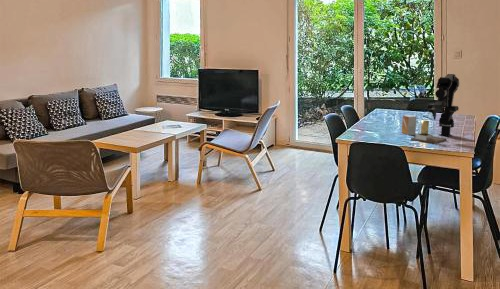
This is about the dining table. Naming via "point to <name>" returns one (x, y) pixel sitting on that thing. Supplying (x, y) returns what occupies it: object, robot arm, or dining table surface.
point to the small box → (409, 124)
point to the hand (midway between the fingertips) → (441, 120)
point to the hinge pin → (424, 127)
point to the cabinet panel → (432, 141)
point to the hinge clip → (424, 137)
